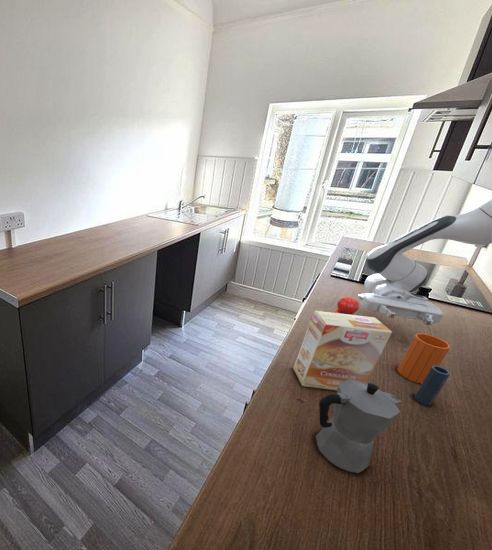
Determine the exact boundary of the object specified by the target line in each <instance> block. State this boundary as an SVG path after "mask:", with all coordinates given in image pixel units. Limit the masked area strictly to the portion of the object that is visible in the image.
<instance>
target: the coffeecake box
mask: <svg viewBox="0 0 492 550" xmlns="http://www.w3.org/2000/svg"><path fill="white" fill-rule="evenodd" d="M392 334H393V331H392V330H391V329H389V327H388V326H386V325H385V324H384V323H382V322H381V321H380V320H379V319H378V318H377V317H375V316H365V315H357V314H353V315H349V314H340V313H334V312H330V311H322V310H321V311H320V310H313V313H312V315H311V318H310V320H309V323H308V327H307V329H306V332H305V335H304V338H303V340H302V343H301V346H300V348H299V351H298V354H297V357H296V359H295V362H294V365H293V368H292V369H293V372H294V374H295V375H296V377H297V379H298V381H299V383H300V385H301V386H302V387H307V388H315V389H324V390H331V391H337V389H338V384H340V383H342V382H344V381H346V380H348V379H350V380H354V381H358V382H362V383H367V384H368V381H369V379H370V377H371V375H372V373H373V371H374V369H375V367H376V365H377V363H378V361H379V359H380V357H381V355H382V353H383V351H384V349H385V347H386V345H387V343H388V341H389V340H390V337H391V335H392Z"/></svg>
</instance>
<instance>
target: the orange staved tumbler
mask: <svg viewBox="0 0 492 550" xmlns="http://www.w3.org/2000/svg"><path fill="white" fill-rule="evenodd" d="M450 349H451V345H450V344H449V343H448V342H447V341H446V340H443V339H441V338H440V337H438V336H434V335H431V334H428V333H423V332H421V333H416V334H415V335H414V337H413V339H412V340H411V343H410V344H409V347H407V350H406V352H405V354H404V356H403V358H402V359H401V361H400V363H399V365H398V367H397V372H398V373H399V374H400V375H401V376H402V377H404V378H405V379H407V380H409V381H411V382H413V383H416V384H420V385H421V383H422V382H423V380H424V378H425V377H426V375H427V373H428V371H429V370H430V368H431V366H434V365H436V366H440V365H441V364H442V362H443V360H444V359H445V357H446V355H447V353H448V352H449V351H450Z"/></svg>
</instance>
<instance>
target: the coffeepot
mask: <svg viewBox="0 0 492 550" xmlns="http://www.w3.org/2000/svg"><path fill="white" fill-rule="evenodd" d="M399 403H402V400H401V399H399V398H398V397H397V395H394V394H392V393H389V392H386V391H384V390H383V391H381V390H380V388H379V386H378V385H377V384H375V383H373V382H369V383H368V382H367V383H362V382H358V381H354V380H350V379H348V380H346V381H344V382H342V383H340V384H338V389H337V390H336V393H328V394H326V395H324V397H321V399H320V400H319V403H318V406H319V425H320V427H321V429H320V430H319V432H318V433H317V434H316V435H315V440H316V445H317V448H318V450H319V452H320V453H321V455H323V457H324V458H325V459H326V460H327V461H329V462H330V463H331V464H332V465H334V466H335V467H337V468H339V469H341V470H343V471H346V472H350V473H356V474H359V473H361V472H363V471H364V470H365V469H367V468H368V467H369V466H370V461H371V457H372V453H373V448H374V444H375V441H374V439H375V438H376V437H378V436H379V435H380V434H382V432H383V431H384V430H385V429H386V428H387V427H388V426H389V425H390V424H391V423H392V422H393V421H394V420H395V418H397V416H398V415H399V414H400V413H401V411H400V409H399V407H398V405H397V404H399ZM332 405H333V410H332V412H333V416H332V417H331V418H330V419H329V410H330V406H332Z"/></svg>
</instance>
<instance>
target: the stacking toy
mask: <svg viewBox="0 0 492 550" xmlns="http://www.w3.org/2000/svg"><path fill="white" fill-rule="evenodd" d="M336 307H337V309H334V311H333V313H340V314H349V315H354V314H355V313H356V312H357V311H358V310H359V308H360V304H359V302H358V300H357V299H355V298H354V297H351V296H344V297H341V298H340V299H339V300H338V301H337V306H336Z"/></svg>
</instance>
